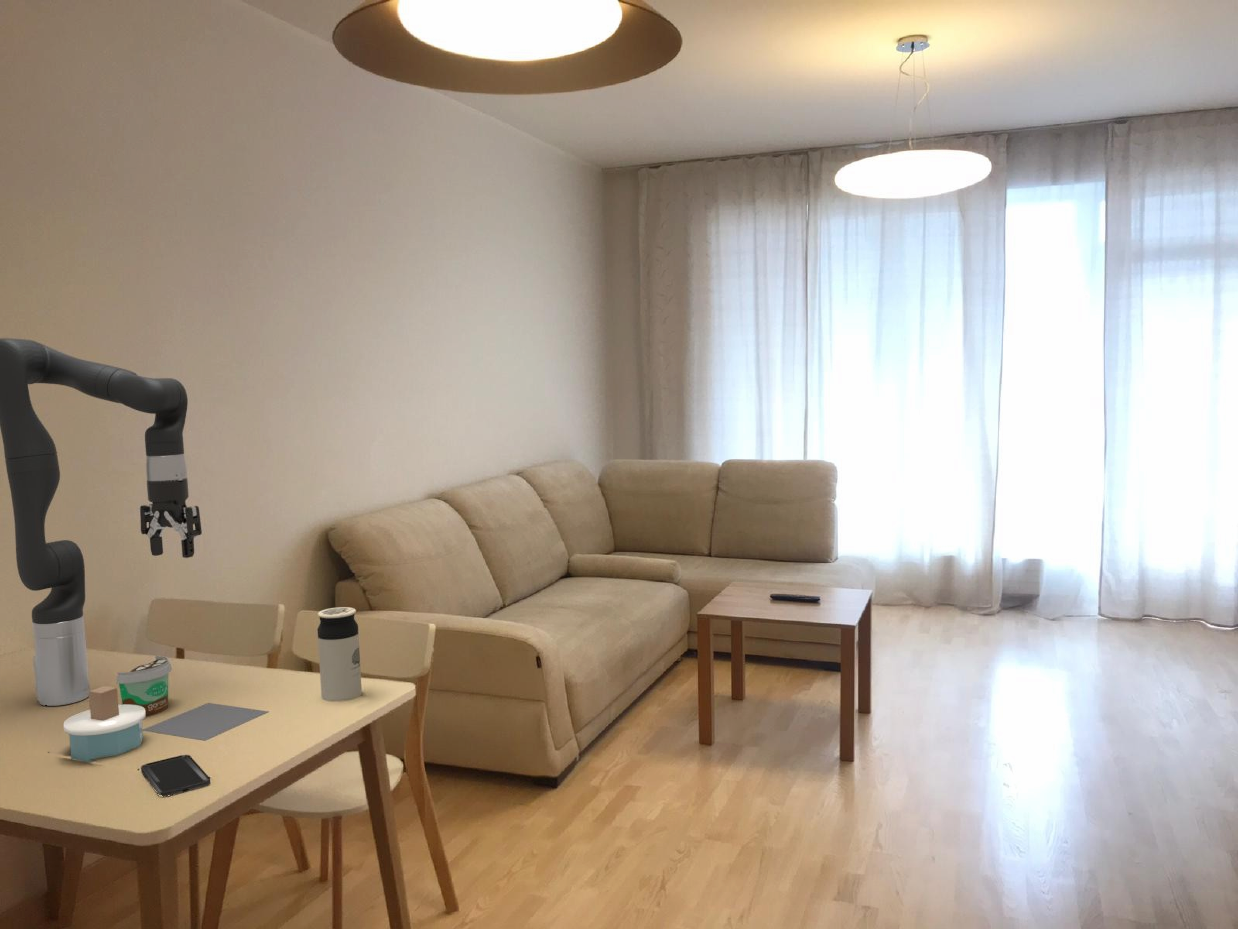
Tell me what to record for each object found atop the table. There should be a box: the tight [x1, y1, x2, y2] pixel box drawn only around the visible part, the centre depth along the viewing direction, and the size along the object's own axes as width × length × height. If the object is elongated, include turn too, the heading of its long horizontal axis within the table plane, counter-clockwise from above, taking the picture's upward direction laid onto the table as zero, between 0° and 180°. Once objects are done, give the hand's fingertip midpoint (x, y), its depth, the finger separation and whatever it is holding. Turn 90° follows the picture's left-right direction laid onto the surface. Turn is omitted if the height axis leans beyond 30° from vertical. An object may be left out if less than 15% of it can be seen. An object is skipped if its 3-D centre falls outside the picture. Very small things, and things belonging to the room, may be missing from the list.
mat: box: [142, 702, 270, 742], centre depth 187 cm, size 16×16×1 cm
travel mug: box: [317, 606, 363, 702], centre depth 200 cm, size 8×8×18 cm
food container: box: [115, 655, 173, 717], centre depth 194 cm, size 12×6×10 cm, turn 168°
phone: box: [140, 754, 211, 797], centre depth 162 cm, size 8×1×15 cm
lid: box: [63, 685, 147, 736], centre depth 175 cm, size 13×13×6 cm
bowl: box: [68, 720, 144, 763], centre depth 175 cm, size 11×11×5 cm
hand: (172, 556), depth 199 cm, fingers open, 8 cm apart
